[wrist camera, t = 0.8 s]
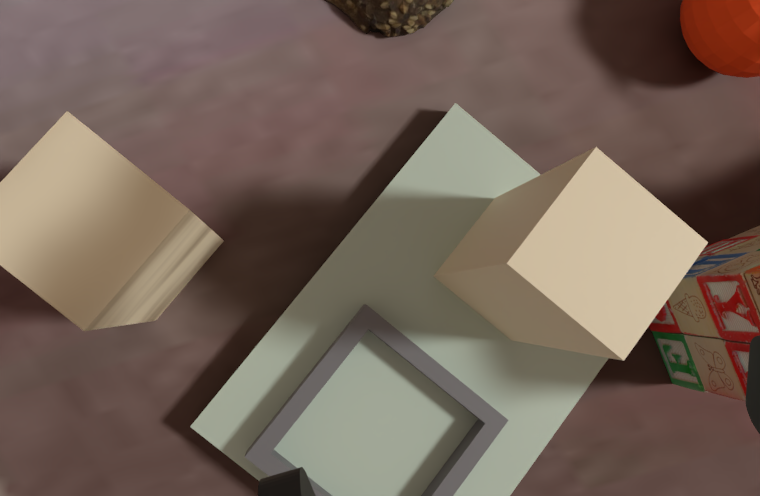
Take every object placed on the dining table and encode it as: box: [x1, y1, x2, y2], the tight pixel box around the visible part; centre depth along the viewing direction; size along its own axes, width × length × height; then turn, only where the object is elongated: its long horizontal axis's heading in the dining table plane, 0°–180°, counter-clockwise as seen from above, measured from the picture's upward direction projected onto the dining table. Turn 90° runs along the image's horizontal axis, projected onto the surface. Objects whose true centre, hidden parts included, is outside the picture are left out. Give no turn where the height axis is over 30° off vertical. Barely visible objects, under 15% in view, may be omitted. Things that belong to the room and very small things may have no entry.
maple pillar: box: [0, 111, 224, 331], centre depth 26 cm, size 5×5×11 cm
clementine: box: [680, 0, 760, 78], centre depth 33 cm, size 8×7×7 cm
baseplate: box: [190, 103, 708, 496], centre depth 27 cm, size 14×20×12 cm
